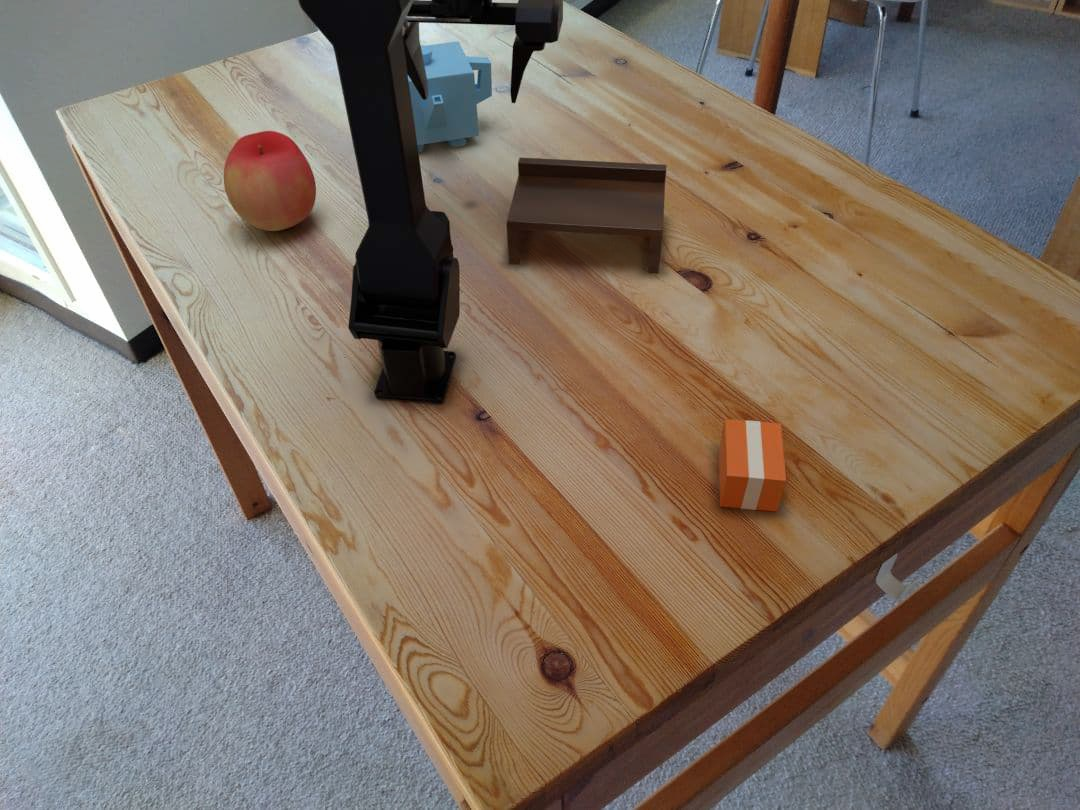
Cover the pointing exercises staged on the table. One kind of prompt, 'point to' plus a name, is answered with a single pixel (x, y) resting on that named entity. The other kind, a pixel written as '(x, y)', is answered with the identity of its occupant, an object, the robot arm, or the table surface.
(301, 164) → the apple
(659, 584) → the table surface
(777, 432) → the package
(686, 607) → the table surface
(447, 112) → the teapot
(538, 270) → the table surface
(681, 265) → the table surface
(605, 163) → the shelf
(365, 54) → the robot arm
